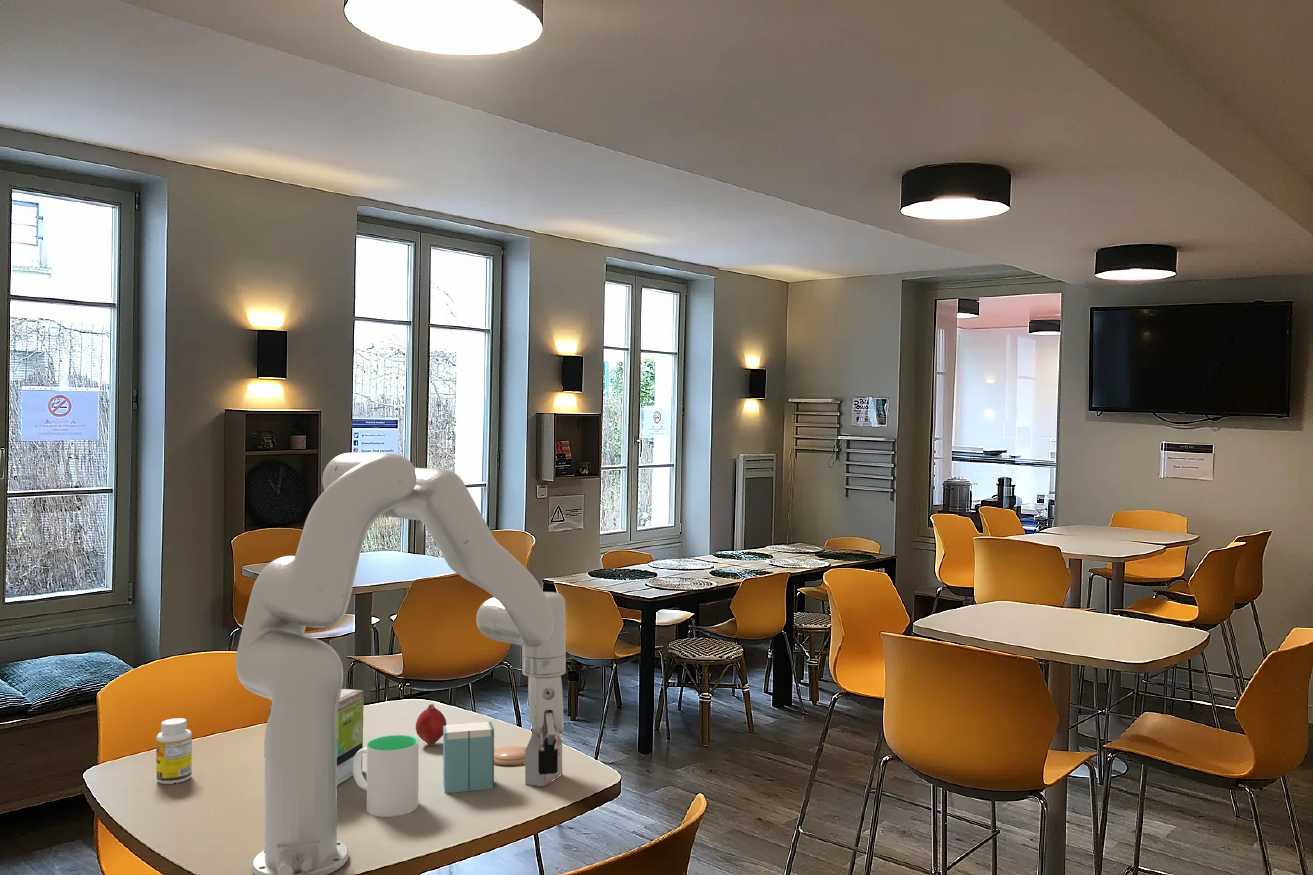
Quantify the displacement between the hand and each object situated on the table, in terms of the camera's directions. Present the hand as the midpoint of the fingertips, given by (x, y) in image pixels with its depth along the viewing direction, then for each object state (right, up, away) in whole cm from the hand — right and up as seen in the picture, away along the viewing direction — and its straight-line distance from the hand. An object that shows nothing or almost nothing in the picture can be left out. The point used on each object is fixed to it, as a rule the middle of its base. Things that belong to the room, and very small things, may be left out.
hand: (544, 764), depth 173 cm
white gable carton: (0, -3, 0) cm, 3 cm away
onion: (-24, -3, +19) cm, 31 cm away
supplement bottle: (-64, -3, 0) cm, 64 cm away
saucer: (-7, -3, +11) cm, 14 cm away
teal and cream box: (-13, -3, -4) cm, 13 cm away
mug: (-25, -3, -12) cm, 28 cm away
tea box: (-39, -3, -1) cm, 39 cm away
